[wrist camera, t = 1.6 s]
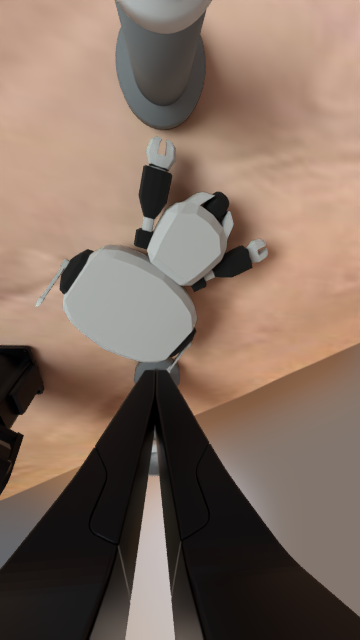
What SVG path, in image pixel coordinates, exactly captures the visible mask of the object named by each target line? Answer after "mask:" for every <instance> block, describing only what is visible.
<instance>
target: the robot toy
mask: <svg viewBox="0 0 360 640" xmlns="http://www.w3.org/2000/svg"><path fill="white" fill-rule="evenodd" d="M161 140H162V138H161V137H158V136H157V137H154V138H152V139H151V140H150V142H149V145H148V147H147V150H146V152H147V157H148V162H149V166H147V165H145V166H143V172H142V178H141V184H140V190H139V199H140V203H141V208H142V211H143V215H144V219H143V225H142V228H139V229H137V230H136V235H135V241H134V245H135V246H137V247H140V248H144V249H147V252H148V255H149V257H148V256H146V255H144V254H142V253H140V252H138V251H135V250H133V249H131V248H128V247H124V246H119V245H106V246H104V247H102V248H100V249H98V250H96V251H92V250H89V249H87V250H85V251H83V252H81V253H80V254H78V255H76V256H75V257H73V258H72V259H71V260H70V261H69V260H67V259H65V260H64V261H63V263H62V264H61V268H60V270H59V271H58V273H57V274H56V276H55V277H54V279H53V280H52V282H51V283H50V284H49V286H48V287H47V289H46V290H45V292H44V293H43V295H42V296H41V297H40V298H39V299H38V301H37V302H36V307H37V306H39V305H40V304H41V303H42V302H43V301H44V299H45V296H46V295H47V294H48V292H49V291H50V289H51V288H52V286H53V285H54V283H55V282H56V280H57V279H58V278H59V276H60V275H61V281H60V291H61V292H62V293H63V294H64V299H63V310H64V311H65V313H66V315H67V317H68V319H69V320H70V321H71V322H72V324H73V325H74V326H75V327H76V328H77V329H78V330H80V331H81V332H82V333H83V334H84V335H85V336H87V337H88V338H89V339H91V340H92V341H93V342H95V343H96V344H98V345H99V346H100V347H102V348H103V349H104V350H107V351H109V352H112V353H115V354H117V355H120V356H122V357H125V358H128V359H132V360H135V361H139V362H159V361H163V360H166V359H167V358H168V357H173V356H175V355H176V354H178V353H179V352H180V353H179V354H178V355H177V357H176V358H175V360H174V361H173V362H172V364H171V365H170V366H169V368H168V369H166V370H168V372H169V373H170V370H171V369H172V368H173V366H174V365H175V364H176V362H177V361H178V360H179V358H180V357H181V355H182V354H183V353H184V351H185V350H186V349H187V348H189V347H190V346H191V344H192V342H191V341H192V340H193V337H194V335H195V333H196V329H195V327H194V326H195V323H196V321H197V314H196V310H195V307H194V304H193V302H192V300H191V298H190V296H189V294H188V292H187V291H186V290H185V288H184V287H183V285H191V287H192V289H193V291H194V292H196V291H198V290H200V289H202V288H204V287H206V281H208V280H210V279H212V278H214V277H234V276H236V275H238V274H240V273H242V272H244V271H247V270H249V269H251V268H252V263H259V262H260V261H262V260H263V259H264V258H266V257H267V255H268V250H267V249H266V248H264V249H263V250H261V251H259V252H258V251H257V250H258V249H260V248H262V247H264V246H266V242H265V241H264V240H262V239H257V240H253V241H251V243H250V244H249V245H248V246H247V247H246V248H245V247H244V246H243V245H242V246H238V247H236V248H234V249H232V250H230V251H228V252H226V253H225V251H226V249H227V239H228V237H229V234H230V232H231V229H232V227H233V225H234V223H233V220H232V216H231V213H230V211H227V209H228V207H229V200H228V198H227V197H226V196H225V195H224V194H223V193H222V192H215V193H214V194H213V195H211V194H208V193H204V192H200V193H196V194H194V195H192V196H191V197H189V198H188V199H186V200H185V201H183V202H178V203H174V204H172V205H171V206H170V207H168V208H167V209H165V211H164V212H163V214H162V216H161V218H160V219H159V221H158V223H157V224H156V226H155V229H154V231H152V229H153V224H154V219H155V218H156V217H157V216H158V215H159V213H160V212H161V211H162V209H163V208H164V206H165V205H166V203H167V199H168V194H169V189H170V185H171V180H172V174H171V173H168V171H169V169H170V168H171V166H172V165H173V164H174V162H175V158H176V148H175V146H174V145H173V143H172V142H171V141H169V140H167V141H166V152H165V156H164V155H161V154H158V149H159V145H160V142H161ZM205 201H206V202H205ZM204 202H205V203H204ZM202 203H204V205H203V206H200V205H201V204H202ZM64 269H65V270H64ZM63 270H64V271H63ZM62 272H63V273H62ZM61 273H62V274H61Z"/></svg>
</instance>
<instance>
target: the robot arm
mask: <svg viewBox="0 0 360 640" xmlns="http://www.w3.org/2000/svg"><path fill="white" fill-rule="evenodd" d="M23 350H24V351H23ZM25 351H26V352H25ZM43 391H44V386H43V381H42V378H41V376H40V373H39V370H38V367H37V365H36V363H35V360H34V357H33V354H32V351H31V349H30V348H29V347H27V346H0V495H1V493H2V491H3V490H4V488H5V486H6V485H7V483H8V481H9V478H10V476H11V473H12V470H13V467H14V464H15V461H16V458H17V455H18V452H19V449H20V446H21V443H22V439H23V436H24V435H22V434H20V433H19V432H18V433H16V432H14V431H13V430H11V429H10V428H11V427H12V425H13V423H14V422H15V420H16V419H17V417H18V415H23V414H24V413H25V411H26V410H27V408H28V406H29V405H30V403H31V401H32V400H33V398H34V396H35V395H36V394H42V393H43ZM154 432H155V435H156V446H157V456H158V466H159V476H160V487H161V497H162V508H163V518H164V528H165V538H166V548H167V559H168V569H169V579H170V590H171V596H172V600H171V601H172V611H173V621H174V631H175V640H360V617H359V616H358V615H357V614H356V613H354V612H353V611H352V610H351V609H350V608H349V607H348V606H346V605H345V604H344V603H343V602H342V601H341V600H339V599H338V598H337V597H336V596H335V595H334V594H332V593H331V592H330V591H329V590H328V589H327V588H325V587H324V586H323V585H322V584H321V583H320V582H318V581H317V580H316V579H315V578H314V577H313V576H311V575H310V574H309V573H308V572H307V571H306V570H305V569H303V568H302V567H301V566H300V565H299V564H298V563H297V562H296V561H295V560H294V559H293V558H292V557H291V556H290V555H289V554H288V552H287V551H286V550H285V549H284V548H283V547H282V545H281V544H280V543H279V542H278V540H277V539H276V538H275V536H274V535H273V534H272V532H271V531H270V530H269V528H268V527H267V526H266V524H265V523H264V522H263V521H262V519H261V517H260V516H259V515H258V514H257V512H256V511H255V509H254V508H253V507H252V506H251V504H250V503H249V501H248V500H247V499H246V497H245V496H244V494H243V493H242V492H241V490H240V489H239V488H238V486H237V485H236V484H235V482H234V481H233V479H232V478H231V476H230V475H229V473H228V472H227V470H226V469H225V467H224V466H223V464H222V462H221V461H220V459H219V458H218V456H217V454H216V453H215V451H214V449H213V448H212V446H211V444H209V441H208V439H207V437H206V436H205V434H204V432H203V430H202V429H201V427H200V425H199V424H198V422H197V420H196V418H195V417H194V415H193V413H192V411H191V410H190V408H189V406H188V405H187V403H186V401H185V399H184V398H183V396H182V394H181V393H180V391H179V389H178V387H177V386H176V384H175V382H174V380H173V379H172V377H171V375H170V374H169V372H168V370H166V369H157V370H155V369H146V370H144V372H143V373H142V375H141V376H140V378H139V379H138V381H137V382H136V384H135V385H134V387H133V389H132V390H131V392H130V393H129V395H128V396H127V398H126V399H125V401H124V402H123V404H122V405H121V407H120V408H119V410H118V411H117V413H116V415H115V416H114V418H113V419H112V421H111V422H110V424H109V425H108V427H107V428H106V430H105V431H104V433H103V434H102V436H101V437H100V439H99V441H98V442H97V444H96V445H95V448H93V450H92V451H91V453H90V454H89V456H88V457H87V459H86V460H85V462H84V463H83V465H82V466H81V467H80V469H79V471H78V472H77V473H76V475H75V476H74V478H73V479H72V480H71V481H70V483H69V484H68V485H67V487H66V488H65V489H64V491H63V492H62V493H61V495H60V496H59V497H58V498H57V500H56V501H55V502H54V503H53V505H52V506H51V507H50V508H49V510H48V511H47V512H46V513H45V515H44V516H43V517H42V518H41V520H40V521H39V522H38V523H37V525H36V526H35V527H34V529H33V530H32V531H31V532H30V533H29V535H28V536H27V537H26V539H25V540H24V541H23V542H22V543H21V545H20V546H19V547H18V549H17V550H16V551H15V552H14V553H13V555H12V556H11V557H10V558H9V559H8V561H7V562H6V563H5V565H4V566H3V567H2V568H1V569H0V640H125V636H126V629H127V622H128V615H129V608H130V600H131V594H132V587H133V580H134V573H135V566H136V558H137V551H138V544H139V537H140V530H141V523H142V517H143V510H144V502H145V496H146V489H147V482H148V475H149V468H150V461H151V454H152V447H153V440H154Z"/></svg>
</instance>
